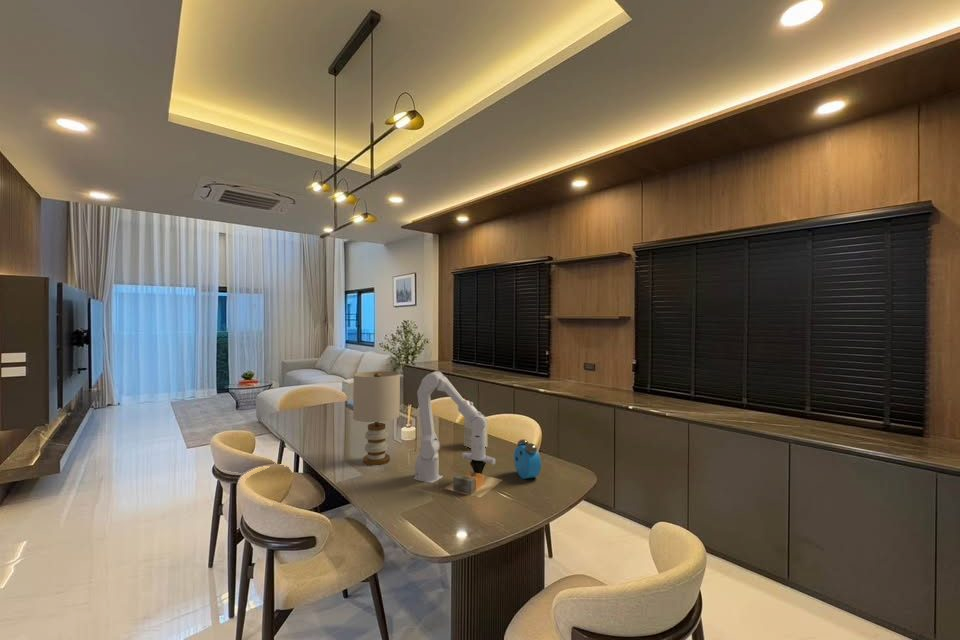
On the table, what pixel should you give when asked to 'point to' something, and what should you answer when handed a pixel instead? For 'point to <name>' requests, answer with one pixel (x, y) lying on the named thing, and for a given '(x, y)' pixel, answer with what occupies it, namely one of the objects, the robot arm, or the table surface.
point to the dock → (483, 488)
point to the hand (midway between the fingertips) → (478, 478)
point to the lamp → (376, 409)
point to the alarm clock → (527, 460)
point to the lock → (476, 479)
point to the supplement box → (470, 433)
